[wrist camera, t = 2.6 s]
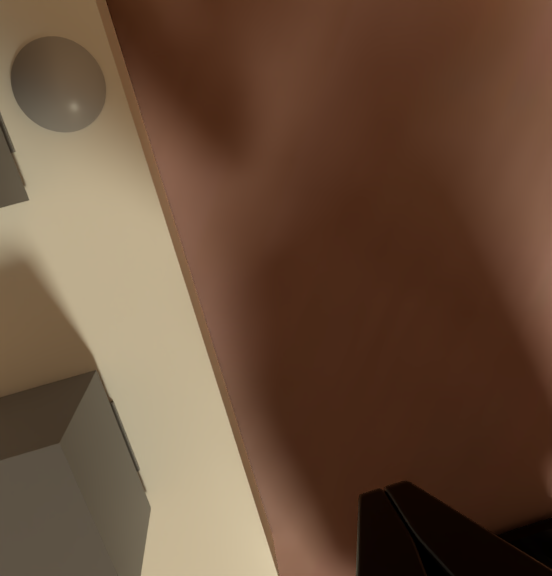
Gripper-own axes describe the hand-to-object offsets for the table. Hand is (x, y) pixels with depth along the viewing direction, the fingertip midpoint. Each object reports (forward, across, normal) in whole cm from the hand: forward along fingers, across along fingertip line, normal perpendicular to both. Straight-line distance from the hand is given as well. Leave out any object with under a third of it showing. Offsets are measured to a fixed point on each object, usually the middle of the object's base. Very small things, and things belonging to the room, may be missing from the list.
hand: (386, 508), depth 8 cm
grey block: (+4, +7, 0) cm, 8 cm away
